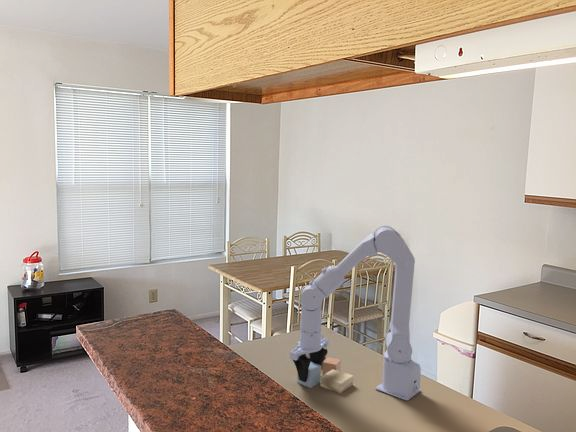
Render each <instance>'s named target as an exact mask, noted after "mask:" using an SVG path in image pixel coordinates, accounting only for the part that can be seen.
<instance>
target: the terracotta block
mask: <svg viewBox="0 0 576 432" xmlns="http://www.w3.org/2000/svg"><path fill="white" fill-rule="evenodd" d="M341 361H342V360H341V359H339V358H336V357H335V358H333V357H329V356H327V357H325V358H324V360H323V362H322V371H321V373H322V374H321V376H322V375H324V374H326V373H327V372H329V371H331V370H332V369H335V370H338V371H341V363H342V362H341Z"/></svg>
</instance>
